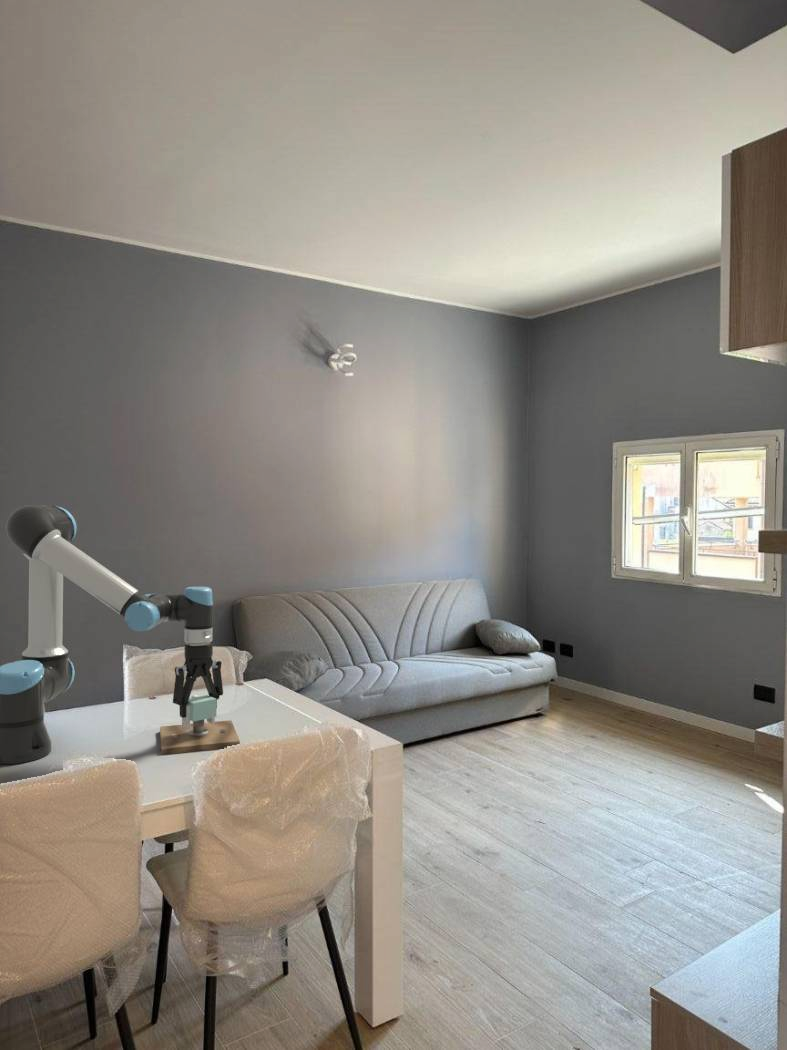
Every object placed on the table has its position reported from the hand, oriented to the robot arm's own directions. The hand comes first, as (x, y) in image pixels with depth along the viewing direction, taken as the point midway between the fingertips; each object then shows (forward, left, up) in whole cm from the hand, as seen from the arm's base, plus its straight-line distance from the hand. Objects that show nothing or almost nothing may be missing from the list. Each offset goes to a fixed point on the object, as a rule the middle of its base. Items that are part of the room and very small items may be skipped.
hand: (198, 725), depth 201 cm
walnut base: (0, 0, -4) cm, 4 cm away
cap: (0, +1, +2) cm, 2 cm away
